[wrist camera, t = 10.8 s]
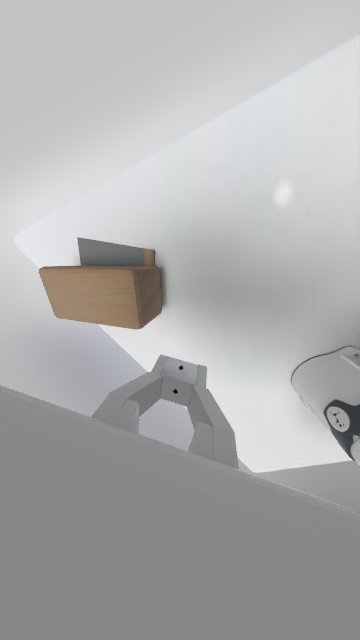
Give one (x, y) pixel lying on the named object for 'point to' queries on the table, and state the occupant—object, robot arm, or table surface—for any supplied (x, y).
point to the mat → (113, 254)
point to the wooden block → (104, 294)
